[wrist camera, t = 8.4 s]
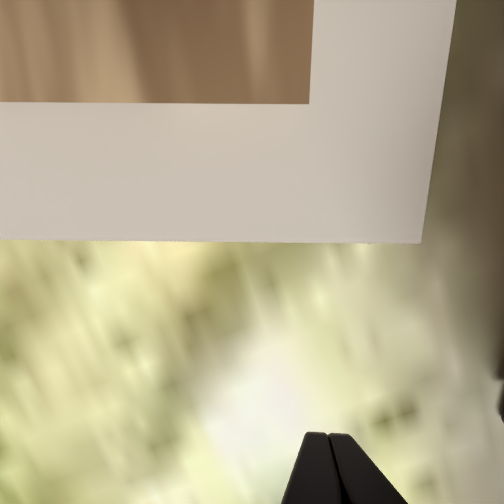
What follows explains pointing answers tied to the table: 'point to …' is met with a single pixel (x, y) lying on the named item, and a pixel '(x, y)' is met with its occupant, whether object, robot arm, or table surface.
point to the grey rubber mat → (247, 148)
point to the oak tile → (156, 51)
